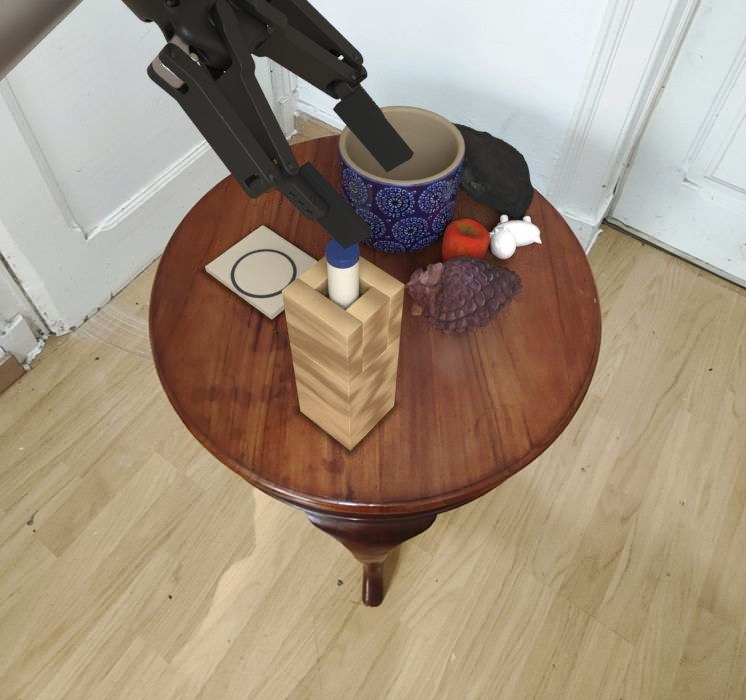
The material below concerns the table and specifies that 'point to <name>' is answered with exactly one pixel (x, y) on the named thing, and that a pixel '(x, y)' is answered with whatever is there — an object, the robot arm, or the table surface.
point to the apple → (465, 240)
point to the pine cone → (462, 293)
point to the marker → (342, 273)
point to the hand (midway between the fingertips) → (380, 199)
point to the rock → (495, 173)
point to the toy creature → (512, 236)
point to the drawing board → (261, 269)
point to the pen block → (345, 350)
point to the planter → (405, 181)
